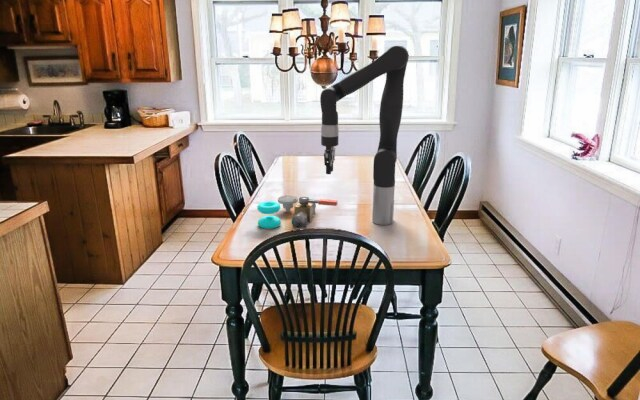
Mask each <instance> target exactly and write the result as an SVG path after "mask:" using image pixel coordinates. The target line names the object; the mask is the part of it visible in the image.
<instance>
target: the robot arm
mask: <svg viewBox="0 0 640 400" xmlns="http://www.w3.org/2000/svg"><path fill="white" fill-rule="evenodd" d="M408 62H409V51H408V50H407V48H406V47H405V46H403V45H401V44H400V45H399V44H396V45H392V46H390V47H389V48H387V50H386V51H385V52H383V54H381V55H380V56H379V57H377V58H376V59H375V60H373V61H372V62H370V63H369V64H367V65H365V66H363V67H362V68H360V69H357V70H356V71H354V72H352V73H350V74H348V75H347V76H345V77H343V78H342V79H340V81H339V82H337V83H334V84H332V85H331V86H329V87H326V88H325V89H323V90H322V91H321V93H320V97H319V100H320V109H321V127H320V128H321V129H320V131H321V132H320V133H321V135H320V137H321V139H320V143H321V146H322V147H325V149H324V153H323V156H324V157H323V158H324V163H323V164H324V166H325V174H326V175H331V174H332V172H333V171H334V162H335V158H336V147H337V146H339V113H338V111H337V102H339V101H340V100H342V99H344V98H345V97H346V96H348V95H351V94H353V93H355V92H356V91H358V90H360V89H362V88H363V87H365V86H366V85H368V84H369V83H371V82H372V81H374V80H376V79H377V78H378V77H381V76H382V75H385V74H386V75H385V76H386V77H385V83H384V87H383V90H382V94H381V98H380V99H381V100H380V104H379V105H380V106H379V115H378V116H379V118H378V119H379V133H380V134H379V135H380V136H379V140H378V147H377V151H376V153H375V155H374V156H373V168H372V169H373V172H372V173H373V175H372V179H373V188H372V189H373V193H372V214H371V215H372V217H371V218H372V220H371V221H372V223H374V224H376V225H381V226H386V225H387V226H388V225H393V223H394V211H395V187H396V177H395V176H396V162H397V159H398V158H397V155H398V151H397V150H398V149H397V145H398V143H397V142H398V133H399V129H400V127H401V121H402V115H403V107H404V81H405V75H406V70H407V65H408Z"/></svg>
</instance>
